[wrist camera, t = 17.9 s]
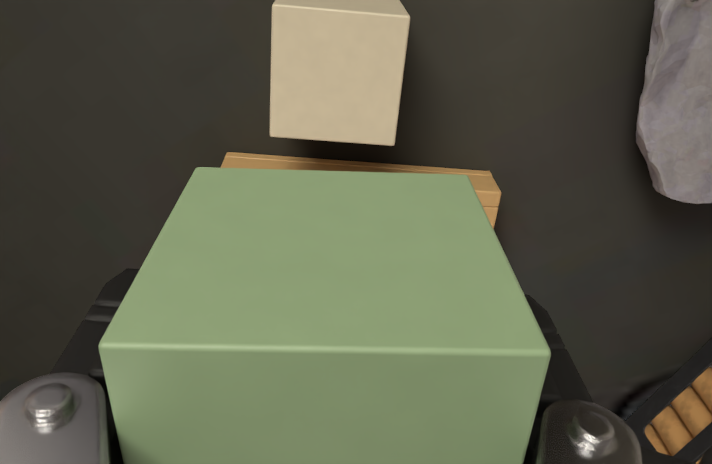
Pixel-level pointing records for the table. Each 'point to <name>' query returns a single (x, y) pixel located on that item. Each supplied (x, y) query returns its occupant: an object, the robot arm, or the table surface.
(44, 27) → the table surface
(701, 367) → the ammunition clip
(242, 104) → the table surface
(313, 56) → the cream block
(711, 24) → the stone block
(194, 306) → the green block
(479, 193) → the tray
